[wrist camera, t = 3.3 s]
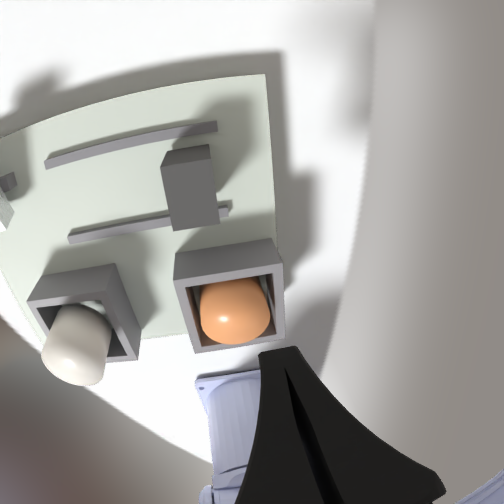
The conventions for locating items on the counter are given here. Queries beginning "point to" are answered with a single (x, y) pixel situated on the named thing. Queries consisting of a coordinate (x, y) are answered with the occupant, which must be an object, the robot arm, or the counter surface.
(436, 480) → the robot arm
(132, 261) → the panel
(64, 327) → the button white
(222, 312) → the button orange
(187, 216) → the slider knob
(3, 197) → the rocker
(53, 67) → the counter surface
